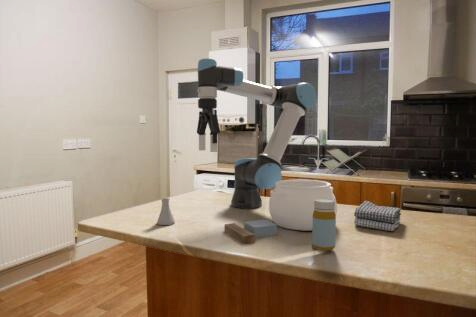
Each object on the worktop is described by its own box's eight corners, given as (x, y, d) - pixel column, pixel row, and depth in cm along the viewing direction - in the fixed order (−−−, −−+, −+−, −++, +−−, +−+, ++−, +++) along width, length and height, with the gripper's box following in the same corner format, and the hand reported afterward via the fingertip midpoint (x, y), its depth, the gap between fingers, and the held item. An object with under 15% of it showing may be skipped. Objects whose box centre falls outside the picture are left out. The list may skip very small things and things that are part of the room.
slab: (244, 232, 122) (265, 229, 126) (254, 238, 115) (276, 235, 118) (244, 221, 122) (266, 219, 125) (254, 227, 114) (277, 224, 118)
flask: (170, 226, 129) (170, 200, 128) (153, 225, 131) (152, 200, 130) (177, 221, 136) (177, 197, 136) (161, 220, 138) (160, 196, 137)
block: (234, 229, 125) (234, 223, 124) (254, 242, 110) (254, 234, 110) (224, 230, 123) (224, 224, 123) (244, 243, 108) (244, 236, 108)
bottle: (309, 244, 108) (310, 198, 107) (330, 243, 109) (331, 198, 108) (316, 251, 101) (317, 202, 100) (338, 250, 102) (339, 202, 101)
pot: (293, 237, 115) (293, 190, 114) (254, 220, 138) (254, 181, 137) (353, 227, 128) (354, 184, 127) (308, 212, 151) (309, 177, 150)
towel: (352, 227, 129) (353, 207, 128) (362, 217, 144) (363, 199, 144) (395, 233, 121) (396, 212, 120) (401, 222, 136) (402, 203, 136)
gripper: (189, 100, 144) (189, 149, 146) (209, 94, 122) (210, 152, 123) (205, 101, 147) (205, 149, 149) (228, 95, 125) (228, 152, 126)
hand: (207, 151), depth 136 cm, fingers open, 13 cm apart
